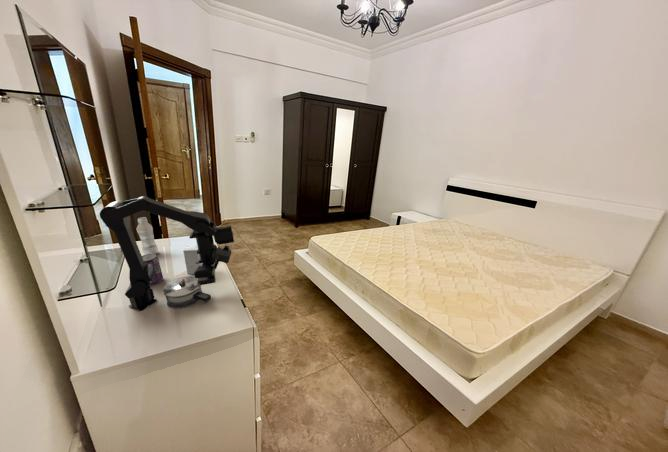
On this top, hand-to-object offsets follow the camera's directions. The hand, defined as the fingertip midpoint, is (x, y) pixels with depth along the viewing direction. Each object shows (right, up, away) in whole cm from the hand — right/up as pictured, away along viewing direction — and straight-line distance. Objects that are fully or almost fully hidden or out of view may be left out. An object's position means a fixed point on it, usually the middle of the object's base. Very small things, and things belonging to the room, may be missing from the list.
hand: (212, 279), depth 104 cm
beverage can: (-28, -2, +6) cm, 29 cm away
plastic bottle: (-45, +7, +28) cm, 53 cm away
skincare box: (-15, +1, +14) cm, 21 cm away
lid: (-6, -2, -5) cm, 8 cm away
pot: (-6, -7, -5) cm, 11 cm away
